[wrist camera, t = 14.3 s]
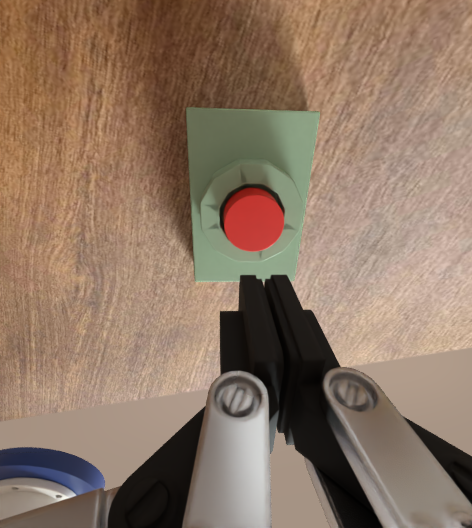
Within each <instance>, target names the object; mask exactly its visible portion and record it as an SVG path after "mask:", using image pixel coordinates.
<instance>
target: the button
mask: <svg viewBox="0 0 472 528" xmlns="http://www.w3.org/2000/svg"><path fill="white" fill-rule="evenodd" d="M223 216H224V229H225V233H226V236H227V238H228V239H229V241H230V242H231V243H232V244H233V245H234V246H236V247H237V248H239V249H241V250H244V251H249V252H256V251H261V250H264V249H266V248H268V247H270V246H271V245H273V244H274V243H275V242H276V241H277V240H278V239H279V237H280V236H281V233H282V231H283V228H284V215H283V212H282V210H281V208H280V206H279V205H278V203H277V202H276V200H275V199H274V197H273V196H272V195H271V194H270V193H268V192H267V191H265V190H263V189H260V188H254V187H251V188H245V189H242V190H240V191H238V192H236V193H235V194H233V195H232V196H231V197H230V198H229V200H228V201H227V203H226V205H225V208H224V215H223Z"/></svg>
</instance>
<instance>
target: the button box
mask: <svg viewBox="0 0 472 528" xmlns="http://www.w3.org/2000/svg"><path fill="white" fill-rule="evenodd" d="M319 117H320V112H319V111H288V110H257V109H227V108H196V107H187V108H186V122H187V142H188V161H189V180H190V199H191V219H192V238H193V257H194V276H195V282H240V275H256V278H257V279H262V281H265V279H270V276H271V275H287V276H288V278H289V280H290V281H294V280H295V274H296V267H297V261H298V254H299V248H300V241H301V235H302V228H303V222H304V215H305V208H306V202H307V195H308V189H309V182H310V176H311V169H312V162H313V156H314V149H315V143H316V136H317V130H318V123H319ZM251 187H254V188H260V189H263V190H265V191H267V192H268V193H270V194H271V195H272V196H273V197H274V199H275V200H276V202H277V203H278V205H279V206H280V208H281V210H282V212H283V215H284V228H283V231H282V233H281V236H280V237H279V239H278V240H277V241H276V242H275V243H274V244H273V245H271V246H270V247H268V248H266V249H264V250H261V251H256V252H249V251H244V250H241V249H239V248H237V247H236V246H234V245H233V244H232V243H231V242H230V241H229V239H228V238H227V236H226V233H225V229H224V216H223V215H224V208H225V205H226V203H227V201H228V200H229V198H230V197H231V196H232V195H233V194H235V193H236V192H238V191H240V190H242V189H245V188H251Z"/></svg>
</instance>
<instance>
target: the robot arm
mask: <svg viewBox="0 0 472 528" xmlns="http://www.w3.org/2000/svg"><path fill="white" fill-rule="evenodd" d="M220 369H221V376H219V377H218V378H216V379H215V381H214V382H213V383H212V384H211V387H210V389H209V392H208V397H207V402H206V406H205V407H204V408H203V409H202V410H200V411H199V412H198V413H197V414H196V415H195V416H194V417H193V418H192V419H191V420H190V421H189V422H188V423H186V424H185V425H184V426H183V427H182V428H181V429H180V430H179V431H178V432H177V433H176V434H175V435H174V436H172V437H171V439H169V440H168V441H167V442H166V443H165V444H164V445H163V446H162V447H161V448H160V449H159V450H158V451H156V452H155V453H154V454H153V455H152V456H151V457H150V458H149V459H148V460H147V461H146V462H145V463H144V464H143V465H142V466H140V467H139V468H138V469H137V470H136V471H135V472H134V473H133V474H132V475H131V476H130V477H129V478H128V479H127V480H126V481H125V482H124V483H123V485H122V486H120V487H116V488H113V489H110V490H107V491H104V489H103V487H102V488H99V489H96V490H93V491H90V492H86V493H83V494H80V495H76V494H75V493H74V492H73V491H72V490H70V489H69V488H68V487H66V486H64V485H61V484H59V483H56V482H53V481H49V480H45V479H39V478H29V477H16V478H8V479H3V480H0V528H271V486H270V454H271V452H272V451H273V445H274V438H275V431H276V426H277V430H278V432H279V433H284V435H285V440H286V444H287V445H295V449H296V450H297V451H298V452H299V453H301V454H302V455H303V456H304V457H305V458H304V459H305V463H306V468H307V470H308V473H309V475H310V478H311V480H312V483H313V485H314V488H315V490H316V493H317V495H318V498H319V501H320V503H321V506H322V508H323V510H324V513H325V516H326V518H327V521H328V523H329V526H330V528H472V456H470V455H468V454H467V453H465V452H463V451H462V450H460V449H458V448H456V447H455V446H453V445H451V444H449V443H448V442H446V441H444V440H443V439H441V438H439V437H438V436H436V435H434V434H432V433H431V432H429V431H427V430H425V429H424V428H422V427H421V426H419V425H417V424H415V423H413V422H412V421H410V420H409V419H407V418H405V417H403V416H402V415H401V414H400V413H399V411H398V410H397V409H396V407H395V406H394V405H393V403H391V401H390V400H389V398H388V397H387V396H386V395H385V393H384V392H383V391H382V389H381V388H380V387H379V386H378V385H377V384H376V383H375V382H374V380H372V378H370V377H369V376H367V375H366V374H364V373H362V372H360V371H358V370H355V369H352V368H347V367H340V365H339V363H338V361H337V359H336V357H335V355H334V353H333V351H332V349H331V347H330V345H329V343H328V341H327V339H326V337H325V335H324V333H323V331H322V329H321V327H320V325H319V323H318V321H317V319H316V317H315V315H314V313H313V312H312V311H311V310H303V308H302V306H301V304H300V302H299V300H298V298H297V295H296V293H295V291H294V289H293V287H292V284H291V282H290V280H289V278H288V276H287V275H271V276H270V279H265V285H263V282H262V279H257V278H256V275H240V285H239V309H238V311H220Z"/></svg>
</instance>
